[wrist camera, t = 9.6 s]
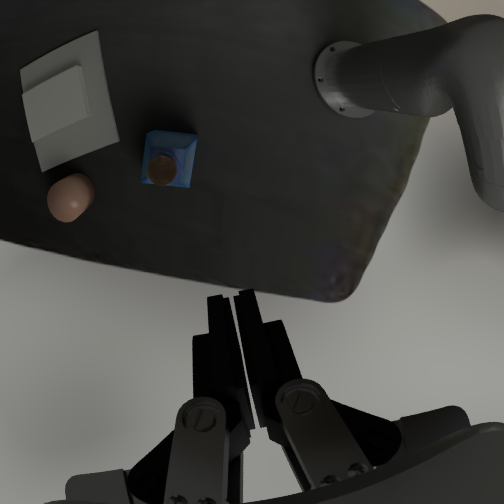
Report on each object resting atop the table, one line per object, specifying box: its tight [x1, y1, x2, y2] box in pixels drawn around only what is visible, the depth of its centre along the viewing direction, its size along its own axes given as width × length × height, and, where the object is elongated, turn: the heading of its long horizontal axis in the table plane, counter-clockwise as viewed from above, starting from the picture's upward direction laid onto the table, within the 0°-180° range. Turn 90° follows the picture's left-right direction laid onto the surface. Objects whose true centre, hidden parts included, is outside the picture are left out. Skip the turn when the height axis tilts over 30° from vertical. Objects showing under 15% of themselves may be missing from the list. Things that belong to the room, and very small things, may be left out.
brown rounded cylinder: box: [47, 173, 95, 222], centre depth 36 cm, size 6×6×5 cm
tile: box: [22, 65, 92, 143], centre depth 30 cm, size 2×8×10 cm
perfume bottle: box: [141, 130, 198, 188], centre depth 33 cm, size 6×6×12 cm
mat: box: [20, 30, 120, 172], centre depth 31 cm, size 14×18×1 cm
